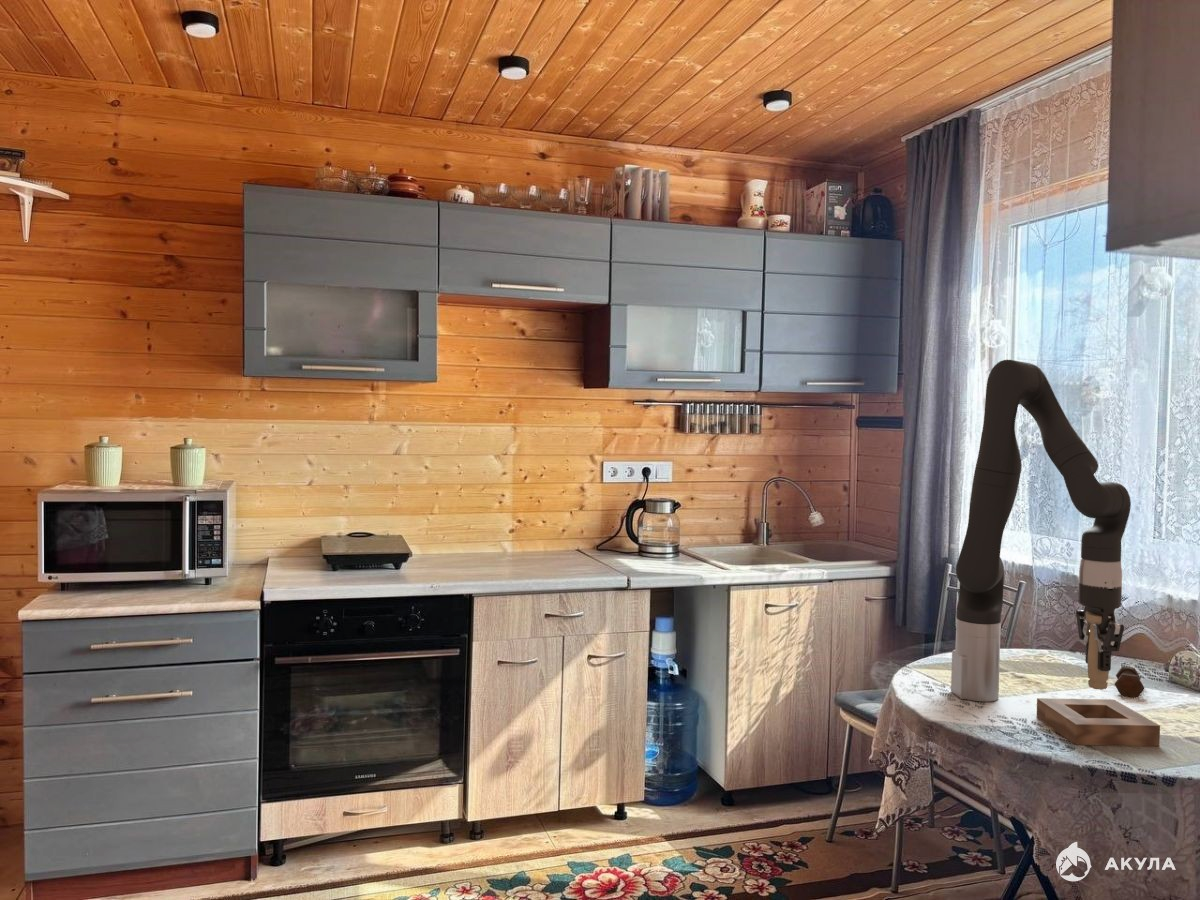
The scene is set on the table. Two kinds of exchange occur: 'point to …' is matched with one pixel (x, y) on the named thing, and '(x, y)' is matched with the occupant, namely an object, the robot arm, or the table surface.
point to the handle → (1095, 656)
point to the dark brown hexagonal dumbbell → (1129, 682)
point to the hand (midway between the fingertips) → (1097, 666)
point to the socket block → (1098, 722)
